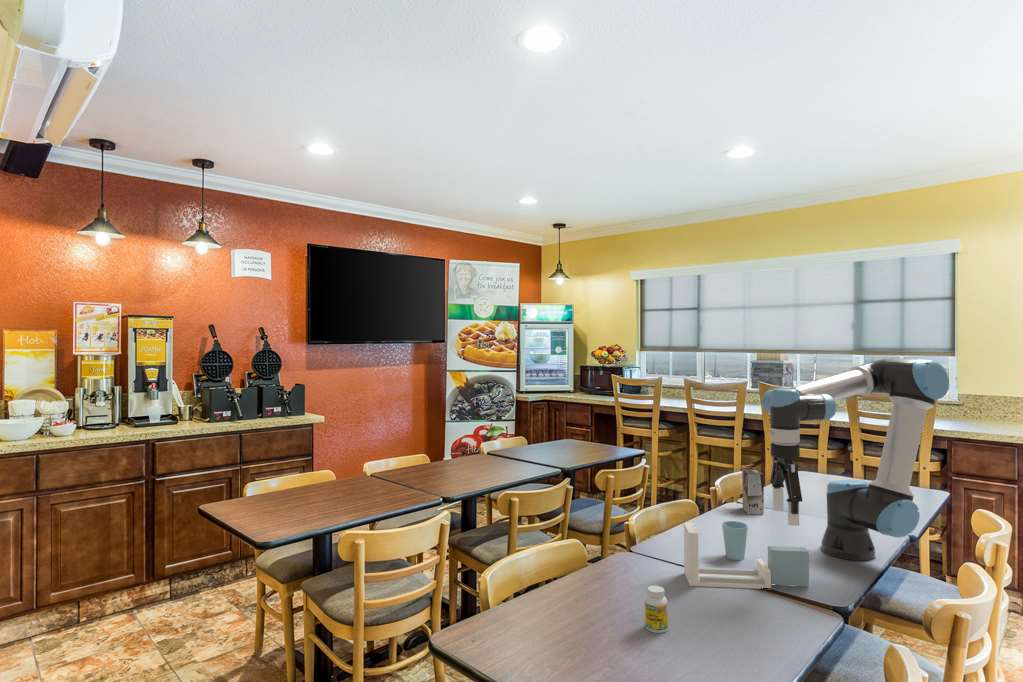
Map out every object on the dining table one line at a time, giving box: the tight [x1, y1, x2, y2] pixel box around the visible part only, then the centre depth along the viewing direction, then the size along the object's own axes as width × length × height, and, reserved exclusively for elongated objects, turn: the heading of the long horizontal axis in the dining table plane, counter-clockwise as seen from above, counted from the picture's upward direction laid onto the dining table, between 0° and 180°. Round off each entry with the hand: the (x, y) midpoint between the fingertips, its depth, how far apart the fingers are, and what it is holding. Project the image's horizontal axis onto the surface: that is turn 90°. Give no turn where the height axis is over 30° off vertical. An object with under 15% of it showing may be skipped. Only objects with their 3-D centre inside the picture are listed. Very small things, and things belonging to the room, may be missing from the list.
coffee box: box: [741, 468, 765, 516], centre depth 235 cm, size 9×6×16 cm
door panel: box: [767, 545, 810, 587], centre depth 167 cm, size 10×4×10 cm, turn 82°
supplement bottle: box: [644, 585, 669, 634], centre depth 142 cm, size 5×5×10 cm
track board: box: [683, 522, 772, 590], centre depth 169 cm, size 22×9×15 cm, turn 82°
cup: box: [721, 520, 749, 561], centre depth 187 cm, size 8×8×10 cm
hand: (785, 517), depth 167 cm, fingers open, 13 cm apart
